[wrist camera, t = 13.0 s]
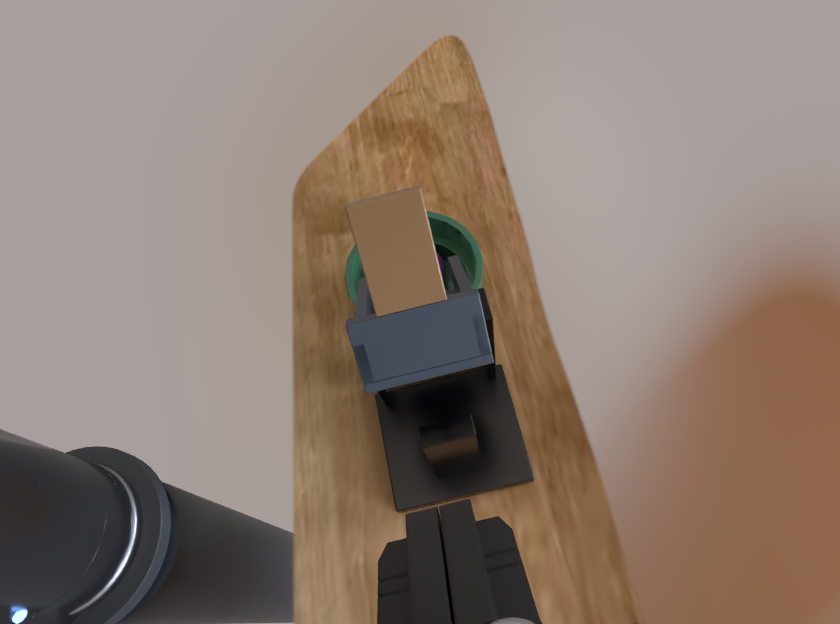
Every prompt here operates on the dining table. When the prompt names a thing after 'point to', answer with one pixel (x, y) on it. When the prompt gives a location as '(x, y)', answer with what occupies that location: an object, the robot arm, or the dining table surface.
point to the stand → (453, 436)
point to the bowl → (447, 243)
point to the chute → (409, 298)
